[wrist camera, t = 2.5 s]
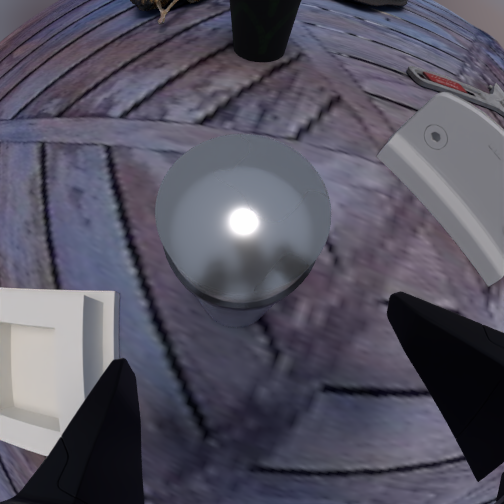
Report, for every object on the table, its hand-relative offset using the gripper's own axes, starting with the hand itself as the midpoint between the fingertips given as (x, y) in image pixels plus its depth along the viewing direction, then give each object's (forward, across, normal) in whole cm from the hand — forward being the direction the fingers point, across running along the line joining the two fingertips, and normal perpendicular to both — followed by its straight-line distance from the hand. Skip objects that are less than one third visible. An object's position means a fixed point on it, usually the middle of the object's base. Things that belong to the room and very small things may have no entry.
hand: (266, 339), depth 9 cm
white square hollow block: (+8, +15, +7) cm, 18 cm away
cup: (+28, -8, -12) cm, 31 cm away
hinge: (+13, -22, +3) cm, 25 cm away
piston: (+10, 0, +5) cm, 11 cm away
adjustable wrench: (+23, -39, -7) cm, 46 cm away
